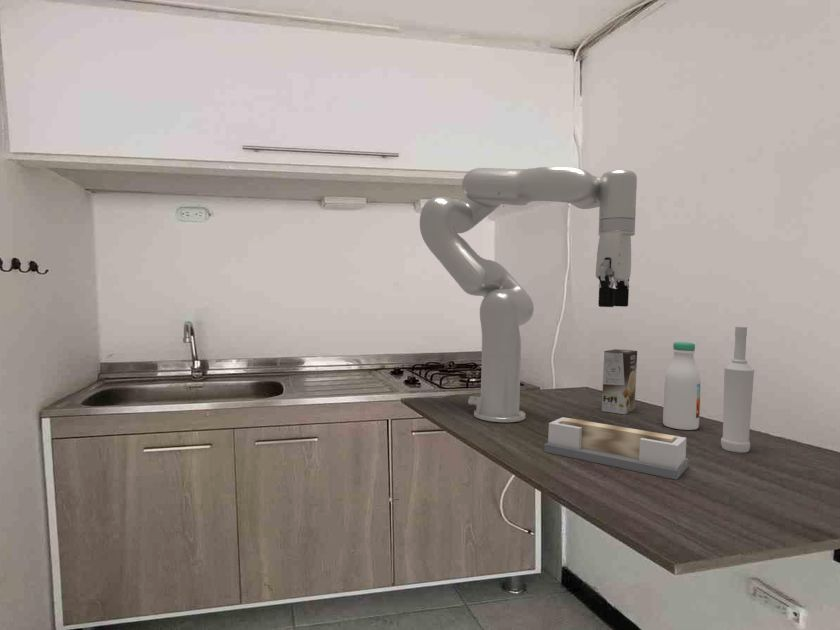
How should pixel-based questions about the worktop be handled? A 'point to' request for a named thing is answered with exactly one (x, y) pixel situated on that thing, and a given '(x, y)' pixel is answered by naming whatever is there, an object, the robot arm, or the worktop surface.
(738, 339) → the bottle
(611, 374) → the coffee box
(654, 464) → the grey holder stand
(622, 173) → the robot arm
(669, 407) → the milk bottle
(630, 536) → the worktop surface
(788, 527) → the worktop surface
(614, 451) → the slat
